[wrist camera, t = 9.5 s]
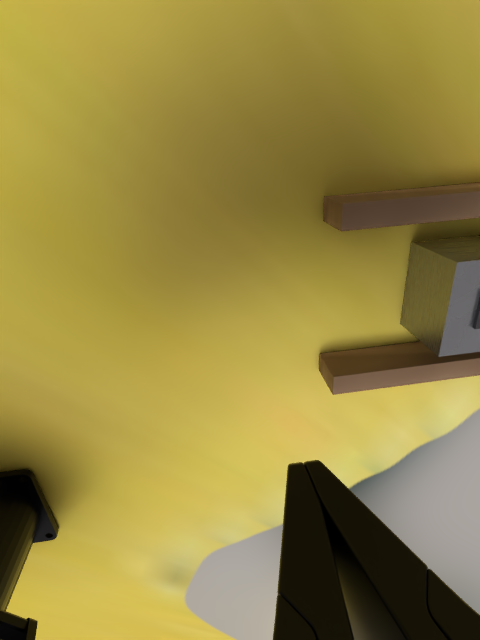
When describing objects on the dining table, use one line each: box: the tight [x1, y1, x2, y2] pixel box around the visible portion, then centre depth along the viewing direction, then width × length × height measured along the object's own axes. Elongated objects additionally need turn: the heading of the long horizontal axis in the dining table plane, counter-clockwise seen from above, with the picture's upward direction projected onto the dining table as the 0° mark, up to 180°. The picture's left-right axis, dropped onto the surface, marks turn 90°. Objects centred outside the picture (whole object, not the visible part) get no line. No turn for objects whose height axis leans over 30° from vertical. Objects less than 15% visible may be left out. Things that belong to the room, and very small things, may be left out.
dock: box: [319, 182, 480, 395], centre depth 20 cm, size 10×11×3 cm
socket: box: [400, 235, 480, 357], centre depth 19 cm, size 5×5×4 cm
